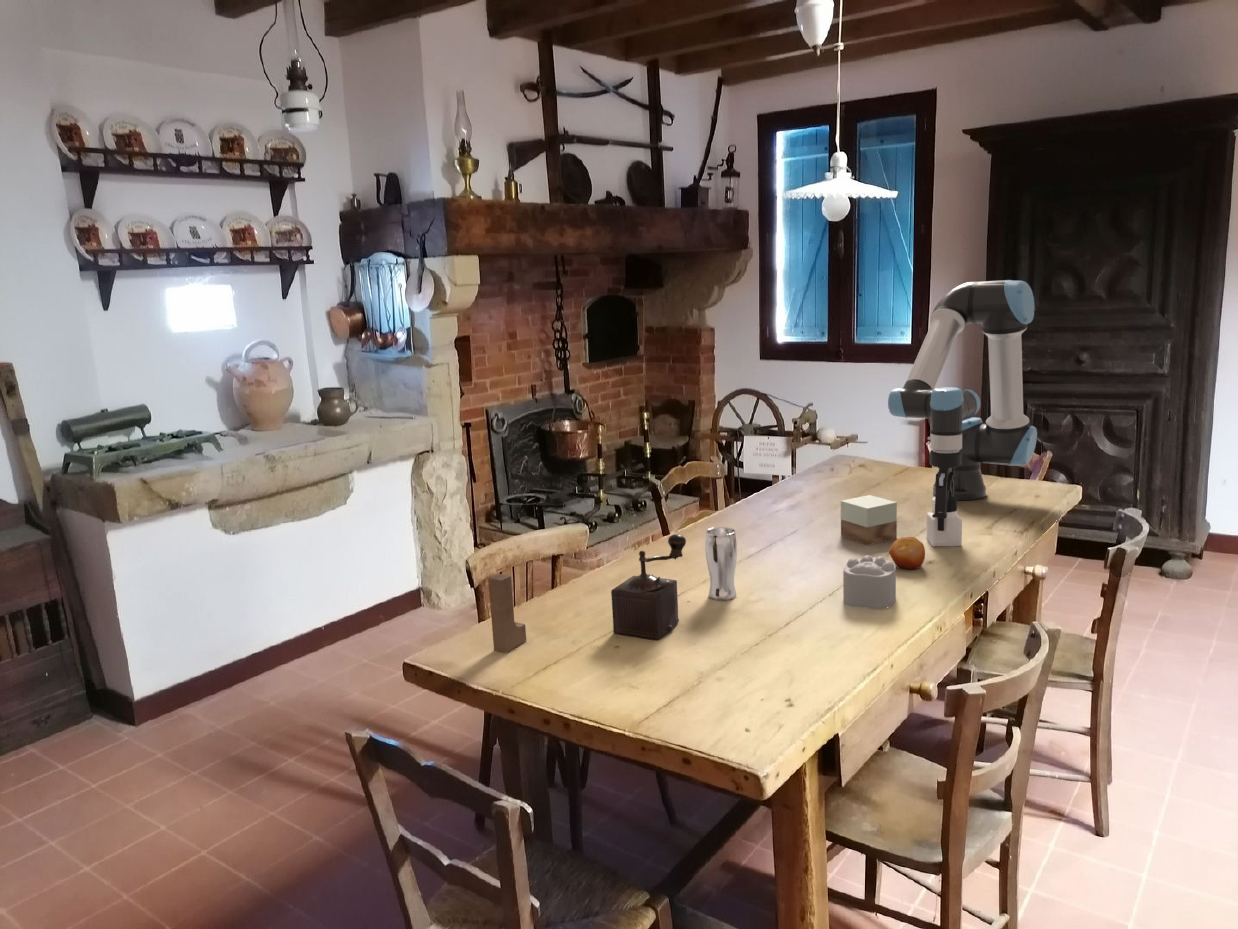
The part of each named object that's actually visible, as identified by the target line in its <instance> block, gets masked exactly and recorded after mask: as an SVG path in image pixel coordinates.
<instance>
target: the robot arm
mask: <svg viewBox="0 0 1238 929" xmlns="http://www.w3.org/2000/svg"><path fill="white" fill-rule="evenodd" d="M1034 316H1035V298H1034V294H1033V290H1032V288H1031V286H1030V285H1029V284H1028V283H1027V282H1026V281H1025V280H1024V281H1023V280H1013V279H1012V280H1011V279H1005V280H1004V279H1003V280H986V281H985V280H984V281H967V282H963V283H962V284H959V285H957V286H955V287H954V288H953V289H951V290H950V291H949V292H947V293H946V294H944V296H943V297H942V298H941V299H940V300H939V301H938V302H937V303H936V305H935V306H934V308H933V310H932V312H931V314H930V317H929V323H930V326H929V327H928V330H927V334H926V335H925V337H924V340H923V342H922V343H921V347H920V349H919V352H918V353H917V356H916V359H915V360H914V363H913V365H912V368H911V370H910V372H909V374H908V377H907V379H906V381H905V382H904V385H903V387H902V388H901V387H899V388H894V389H892V390H891V391H890V393H889V394H888V397H887V398H888V399H887V409H888V412H889V413H890V415H892V416H894V417H898V418H899V417H900V418H906V419H907V418H910V419H911V418H913V419H930V429H929V433H930V436H928V437H927V440H928V441H930V443H929V448H930V449H931V450H930V451H929V465H930V466H932V467H933V468H938V471H937V473H936V474H935V480H934V481H935V482H934V484H933V486H932V494H933V495H934V497H935V514H934V515H932V517H934V518H936V523H935V542H937V543H947V504H948V496H952V497H955V498H956V499H957V501H971V500H973V501H974V500H977V499H982V498H985V497H986V496H987V487H986V485H985V483H984V477H983V474H982V471H981V463H982V464H991V465H1003V466H1010V467H1013V466H1014V467H1015V466H1018V467H1019V466H1021V467H1024V466H1026V465H1028V464H1029V463H1030V461H1031V460H1032V457H1033V455H1034V452H1035V449H1036V445H1037V440H1038V431H1037V427H1035V426H1033V425H1030V418H1029V417H1028V416H1027V415H1025V414H1024V390H1023V388H1024V386H1023V385H1024V384H1023V350H1022V349H1023V348H1022V346H1023V344H1022V334H1023V333H1024V332H1025V331H1027V329H1028V324H1030V323H1032V322H1033V320H1034ZM970 324H971V325H972V324H973V325H978V324H980V325H981V332H982V334H984V335H985V336H986V337H987V344H988V370H989V371H988V372H989V393H990V416H989V417H987V419H986V420H985V423H983V420H982V418H981V417H974V416H975V415H977V413H978V412H979V411H980V409H981V404H982V403H981V399H980V397H979V395H978V393H977V392H975V391H974V390H971V389H967V388H966V389H962V388H959V387H952V386H951V387H950V386H946V387H945V386H944V387H936V385H937V383H938V381H939V378H940V376H941V374H942V371H943V369H944V366H945V365H946V362H947V360H948V357H949V355H950V353H951V350H952V348H953V345H954V344H955V341H956V338H957V337H958V336H957V335H958V334H960V333H962V332H963V331H964V329H965V327H966V325H967V326H968V325H970ZM935 387H936V388H935ZM941 512H943V513H941Z"/></svg>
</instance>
